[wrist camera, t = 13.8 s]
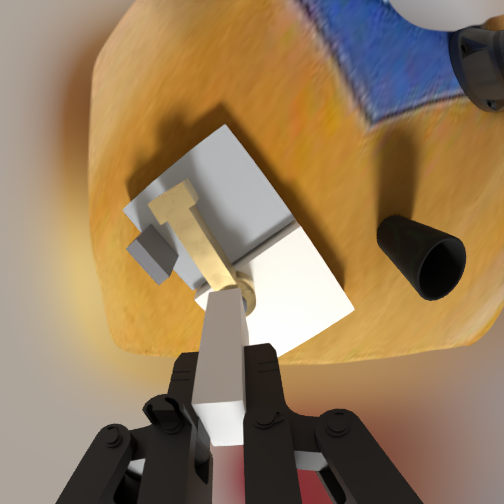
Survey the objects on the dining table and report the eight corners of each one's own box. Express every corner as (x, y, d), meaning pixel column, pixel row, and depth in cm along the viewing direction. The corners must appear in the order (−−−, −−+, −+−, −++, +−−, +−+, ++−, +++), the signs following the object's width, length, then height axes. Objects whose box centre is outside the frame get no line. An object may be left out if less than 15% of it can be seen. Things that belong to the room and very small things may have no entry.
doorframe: (226, 125, 30) (222, 118, 22) (343, 292, 39) (367, 330, 31) (130, 204, 33) (100, 225, 24) (259, 345, 42) (264, 389, 33)
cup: (365, 258, 37) (408, 303, 26) (374, 205, 35) (427, 234, 23) (408, 259, 38) (454, 299, 27) (418, 210, 35) (473, 238, 24)
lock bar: (228, 310, 33) (228, 325, 30) (154, 198, 28) (145, 205, 25) (261, 294, 33) (263, 308, 30) (189, 176, 27) (184, 180, 24)
